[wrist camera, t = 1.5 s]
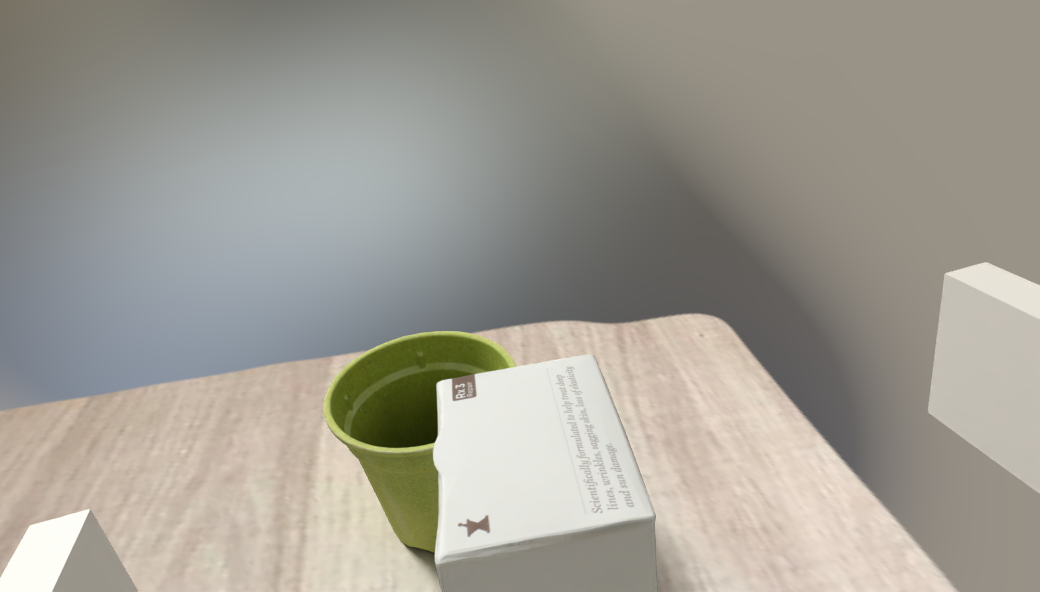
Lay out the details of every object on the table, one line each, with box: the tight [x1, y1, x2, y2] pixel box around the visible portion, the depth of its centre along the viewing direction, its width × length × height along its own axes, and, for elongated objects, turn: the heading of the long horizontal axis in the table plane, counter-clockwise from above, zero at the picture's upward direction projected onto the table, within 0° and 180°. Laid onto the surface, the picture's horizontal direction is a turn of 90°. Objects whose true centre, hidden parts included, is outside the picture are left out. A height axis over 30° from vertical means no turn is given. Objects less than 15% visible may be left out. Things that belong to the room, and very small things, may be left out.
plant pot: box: [323, 331, 517, 553], centre depth 36 cm, size 9×9×9 cm
